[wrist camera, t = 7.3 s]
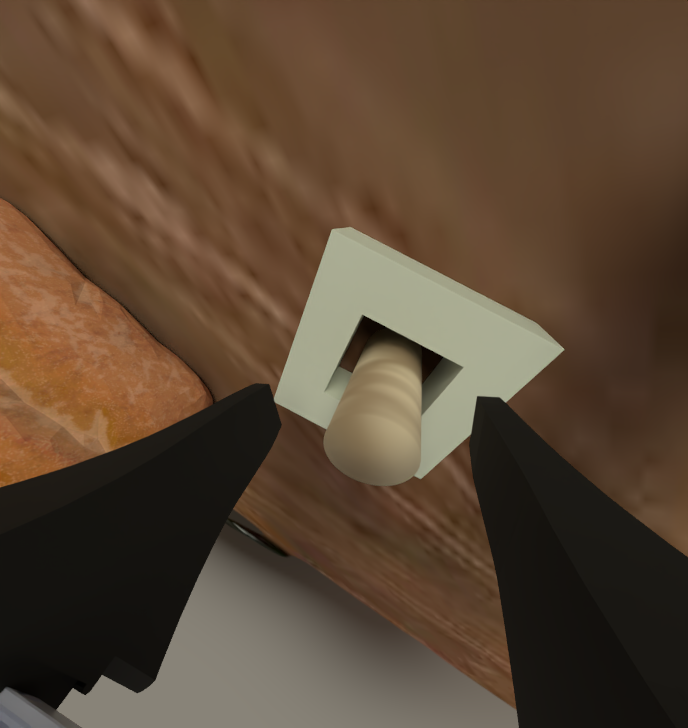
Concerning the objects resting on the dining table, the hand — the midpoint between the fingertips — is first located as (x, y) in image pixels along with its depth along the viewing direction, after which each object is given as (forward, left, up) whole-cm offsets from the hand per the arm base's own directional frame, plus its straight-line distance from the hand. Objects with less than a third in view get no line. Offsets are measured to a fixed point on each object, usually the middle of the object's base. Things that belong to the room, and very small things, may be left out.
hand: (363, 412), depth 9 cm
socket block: (-1, +2, -9) cm, 10 cm away
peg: (-1, +2, -9) cm, 10 cm away
